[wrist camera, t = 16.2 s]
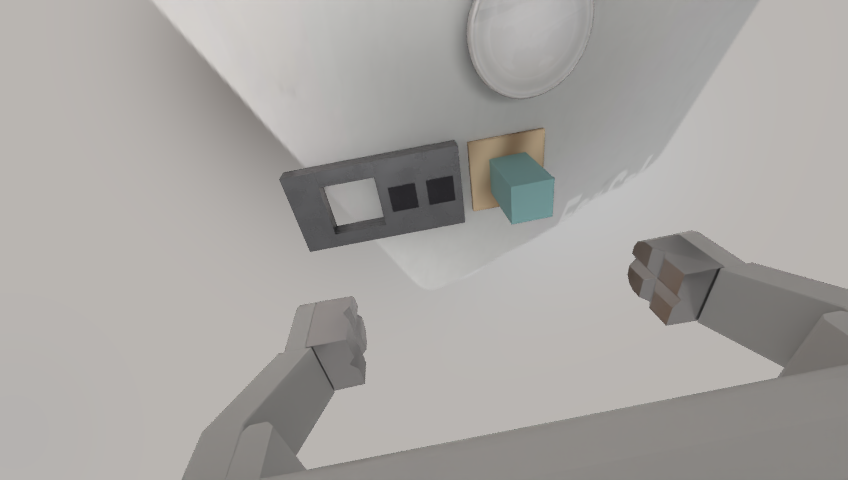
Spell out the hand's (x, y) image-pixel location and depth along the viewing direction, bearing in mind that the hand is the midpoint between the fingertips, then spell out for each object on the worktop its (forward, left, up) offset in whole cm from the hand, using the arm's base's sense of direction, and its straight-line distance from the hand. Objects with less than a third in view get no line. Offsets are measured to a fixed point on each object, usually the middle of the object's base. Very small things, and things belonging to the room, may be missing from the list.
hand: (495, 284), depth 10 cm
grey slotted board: (+6, +11, -31) cm, 33 cm away
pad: (-10, +11, -31) cm, 34 cm away
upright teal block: (-10, +11, -30) cm, 34 cm away
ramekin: (-11, -4, -31) cm, 34 cm away
